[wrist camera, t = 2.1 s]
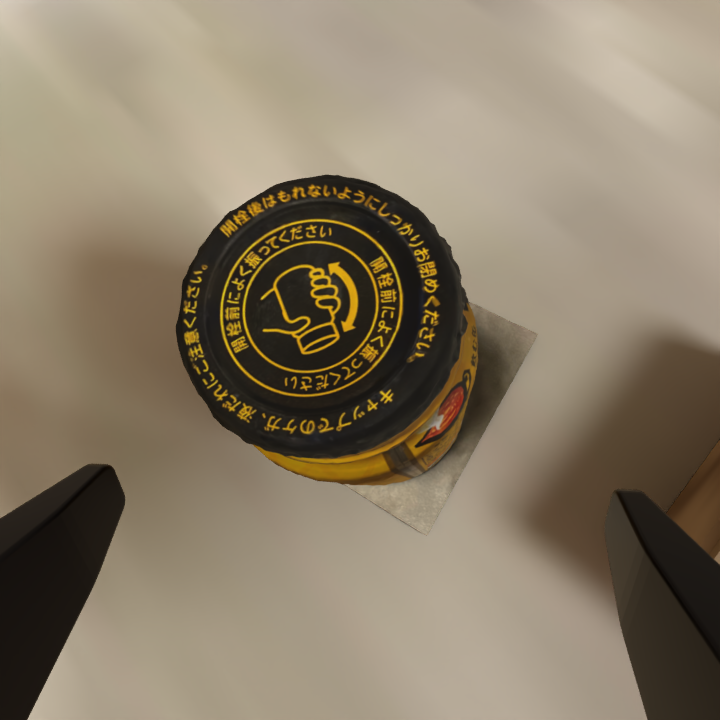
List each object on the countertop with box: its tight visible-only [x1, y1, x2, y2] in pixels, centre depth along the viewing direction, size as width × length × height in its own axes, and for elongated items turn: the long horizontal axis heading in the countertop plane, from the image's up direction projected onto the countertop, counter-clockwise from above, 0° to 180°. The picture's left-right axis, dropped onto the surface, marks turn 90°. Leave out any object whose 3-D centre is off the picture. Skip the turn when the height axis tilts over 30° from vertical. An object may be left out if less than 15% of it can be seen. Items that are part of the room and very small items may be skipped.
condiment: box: [176, 175, 538, 536], centre depth 15 cm, size 7×8×12 cm
